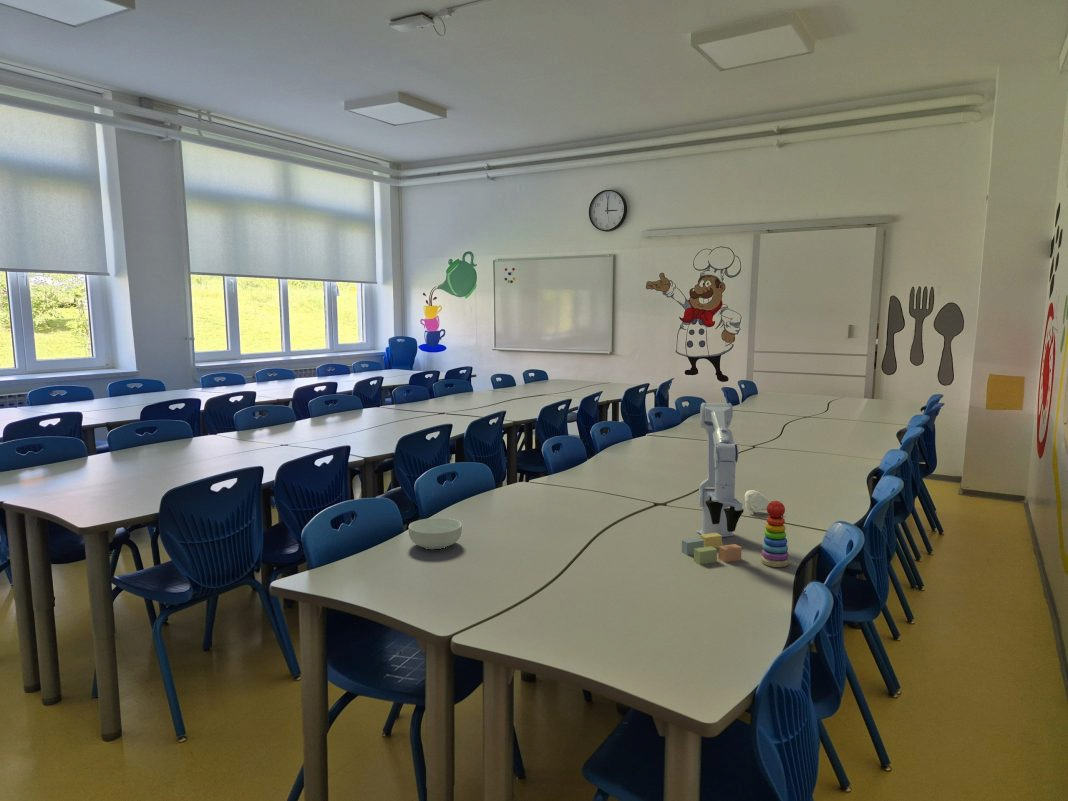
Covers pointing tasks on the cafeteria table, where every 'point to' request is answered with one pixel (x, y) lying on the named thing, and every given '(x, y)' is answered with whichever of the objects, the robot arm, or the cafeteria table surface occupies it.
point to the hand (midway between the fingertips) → (723, 527)
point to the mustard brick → (712, 540)
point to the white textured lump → (755, 501)
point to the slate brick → (691, 545)
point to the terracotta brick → (729, 553)
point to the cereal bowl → (435, 532)
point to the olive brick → (705, 555)
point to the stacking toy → (775, 537)
